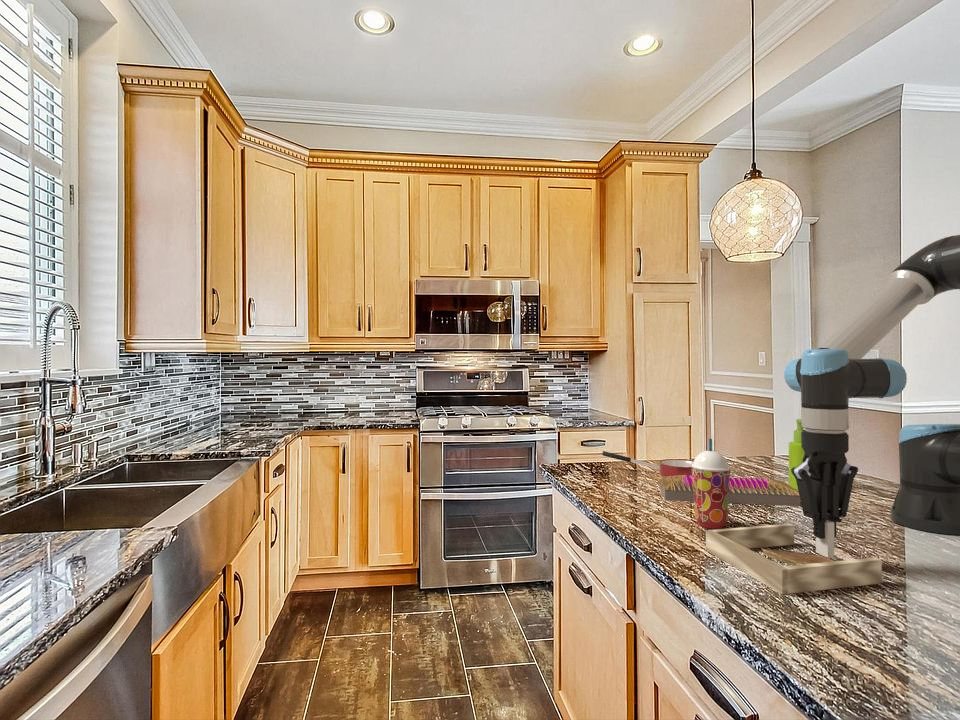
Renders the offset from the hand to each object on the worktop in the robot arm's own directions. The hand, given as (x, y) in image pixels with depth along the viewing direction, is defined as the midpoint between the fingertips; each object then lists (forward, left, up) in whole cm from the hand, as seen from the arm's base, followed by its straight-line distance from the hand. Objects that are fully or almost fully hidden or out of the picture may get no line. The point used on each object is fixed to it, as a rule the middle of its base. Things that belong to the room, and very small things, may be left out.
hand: (825, 554), depth 101 cm
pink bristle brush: (-12, -45, -2) cm, 47 cm away
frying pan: (-7, -76, -2) cm, 77 cm away
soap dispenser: (-40, -49, -2) cm, 63 cm away
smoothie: (+7, -24, -2) cm, 25 cm away
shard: (+6, 0, -2) cm, 6 cm away
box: (+8, 0, -1) cm, 9 cm away
